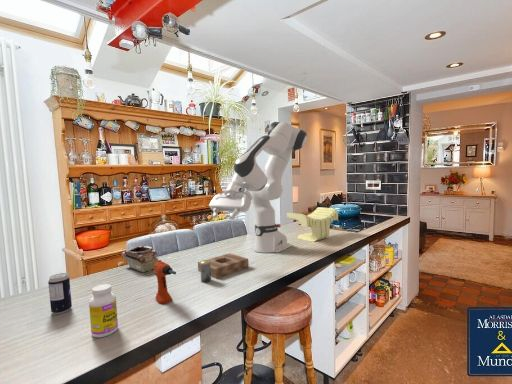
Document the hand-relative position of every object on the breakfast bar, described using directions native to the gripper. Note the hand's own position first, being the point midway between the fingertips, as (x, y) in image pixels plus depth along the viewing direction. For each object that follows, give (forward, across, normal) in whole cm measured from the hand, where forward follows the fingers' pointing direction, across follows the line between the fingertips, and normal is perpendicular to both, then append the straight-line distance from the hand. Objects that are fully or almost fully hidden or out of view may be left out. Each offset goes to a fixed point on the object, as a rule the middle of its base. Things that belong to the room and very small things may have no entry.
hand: (222, 217), depth 122 cm
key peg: (+26, 0, +8) cm, 27 cm away
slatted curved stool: (-34, +16, +68) cm, 77 cm away
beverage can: (+55, -27, -20) cm, 65 cm away
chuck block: (+16, -2, +18) cm, 24 cm away
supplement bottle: (+55, -1, -21) cm, 59 cm away
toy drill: (+41, +2, -7) cm, 42 cm away
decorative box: (+28, -42, +7) cm, 50 cm away
